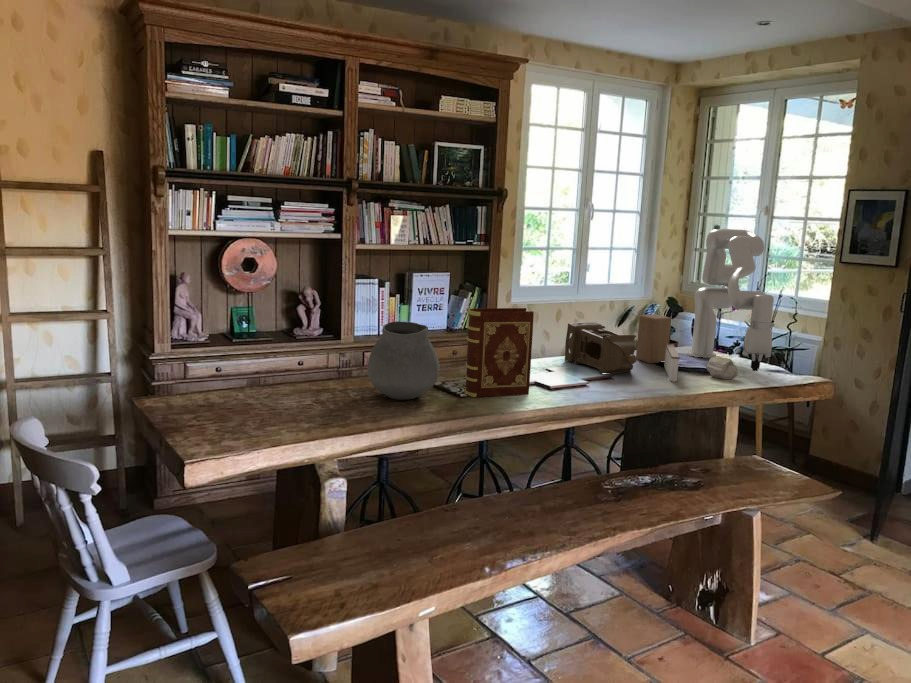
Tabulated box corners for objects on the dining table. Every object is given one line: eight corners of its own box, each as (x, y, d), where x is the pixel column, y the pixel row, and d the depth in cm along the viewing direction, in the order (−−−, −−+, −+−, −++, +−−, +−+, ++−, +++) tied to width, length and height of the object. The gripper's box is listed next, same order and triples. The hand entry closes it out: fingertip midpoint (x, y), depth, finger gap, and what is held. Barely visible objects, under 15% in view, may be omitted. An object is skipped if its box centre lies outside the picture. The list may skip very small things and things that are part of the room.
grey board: (663, 366, 316) (665, 343, 314) (670, 366, 315) (673, 344, 313) (669, 380, 290) (671, 356, 288) (677, 381, 289) (679, 357, 287)
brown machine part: (646, 384, 294) (656, 339, 291) (612, 382, 286) (622, 335, 283) (592, 362, 324) (601, 321, 322) (560, 360, 316) (568, 318, 313)
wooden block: (634, 359, 327) (638, 314, 323) (652, 357, 331) (657, 313, 327) (649, 364, 318) (653, 318, 314) (667, 362, 322) (672, 317, 318)
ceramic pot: (357, 403, 243) (358, 328, 238) (378, 385, 266) (379, 316, 261) (430, 410, 238) (432, 334, 233) (444, 391, 262) (447, 321, 257)
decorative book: (468, 397, 255) (472, 311, 249) (461, 391, 262) (465, 308, 256) (529, 395, 261) (534, 311, 255) (521, 389, 268) (525, 307, 263)
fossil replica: (735, 382, 292) (736, 379, 301) (739, 362, 291) (740, 359, 300) (703, 376, 296) (705, 373, 306) (708, 356, 295) (709, 353, 304)
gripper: (777, 325, 295) (772, 369, 298) (738, 322, 297) (733, 366, 301) (782, 328, 287) (776, 374, 291) (742, 325, 290) (736, 371, 294)
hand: (754, 370), depth 296 cm, fingers closed
